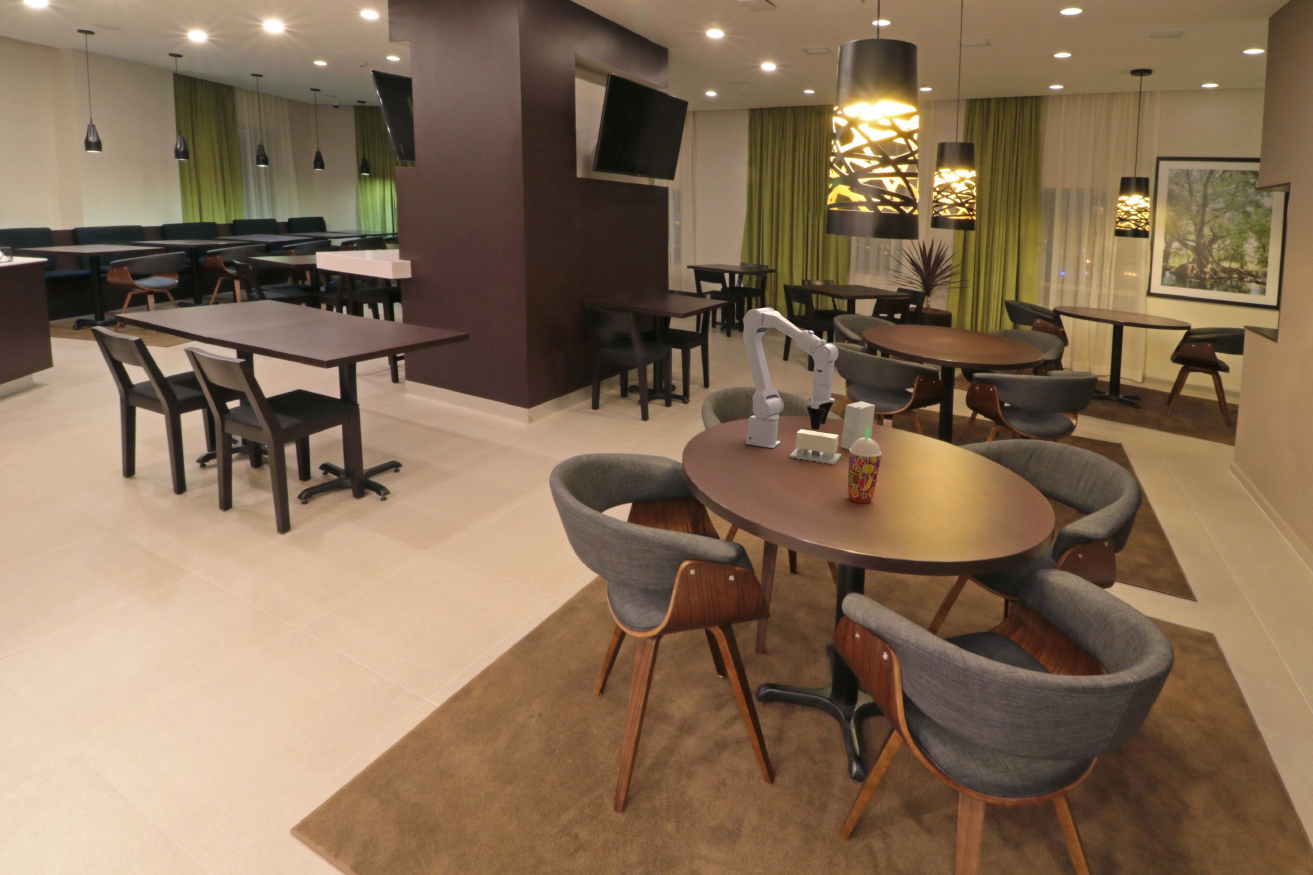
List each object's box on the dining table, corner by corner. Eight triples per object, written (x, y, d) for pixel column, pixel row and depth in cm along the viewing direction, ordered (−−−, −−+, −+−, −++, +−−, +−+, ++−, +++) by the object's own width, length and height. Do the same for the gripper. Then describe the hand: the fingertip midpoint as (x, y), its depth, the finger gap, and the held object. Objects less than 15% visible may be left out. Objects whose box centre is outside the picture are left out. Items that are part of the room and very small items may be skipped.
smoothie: (839, 494, 216) (847, 423, 210) (869, 494, 216) (878, 423, 211) (849, 505, 208) (857, 432, 202) (880, 505, 208) (889, 432, 203)
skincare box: (856, 443, 263) (861, 400, 259) (871, 448, 259) (876, 404, 254) (840, 447, 258) (844, 403, 254) (855, 452, 253) (860, 407, 249)
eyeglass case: (795, 447, 247) (796, 432, 245) (799, 444, 251) (800, 429, 249) (833, 454, 242) (835, 438, 241) (837, 450, 246) (838, 435, 244)
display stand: (789, 457, 245) (789, 449, 245) (797, 449, 254) (798, 441, 253) (833, 465, 240) (834, 457, 239) (841, 456, 249) (842, 448, 248)
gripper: (830, 389, 233) (825, 434, 237) (841, 381, 245) (836, 423, 249) (806, 386, 236) (802, 430, 239) (818, 378, 248) (814, 419, 252)
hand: (818, 426), depth 244 cm, fingers open, 7 cm apart
